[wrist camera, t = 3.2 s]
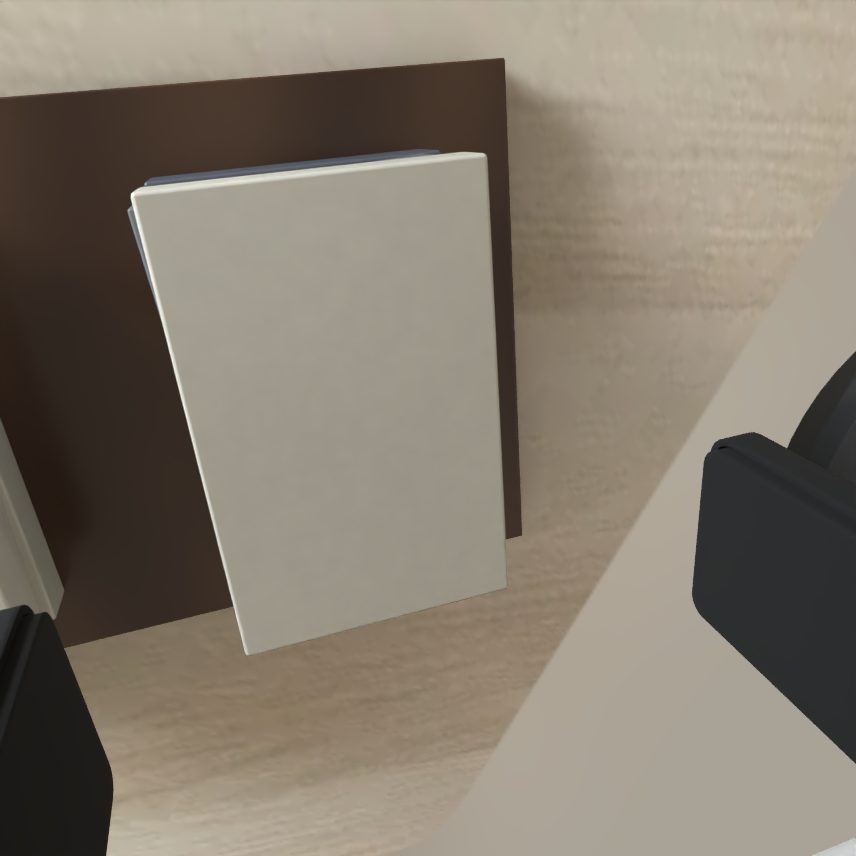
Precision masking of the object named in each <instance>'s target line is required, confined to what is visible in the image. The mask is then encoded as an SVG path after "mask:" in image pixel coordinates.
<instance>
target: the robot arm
mask: <svg viewBox="0 0 856 856" xmlns="http://www.w3.org/2000/svg"><path fill="white" fill-rule="evenodd" d="M692 597H693V602H694V604H695V607H696V609H697V610H698V612H699V614H700V615H701V616H702V617H703V618H704V619H705V620H706V621H707V622H708V623H709V624H710V625H711V626H712V627H713V628H714V629H715V630H716V631H718V632H719V633H720V634H721V635H722V636H723V637H724V638H725V639H726V640H727V641H728V642H729V643H730V644H731V645H732V646H733V647H735V649H736V650H737V651H738V652H739V653H741V654H742V655H743V656H744V657H745V658H746V659H747V660H748V661H749V662H750V663H751V664H752V665H753V666H754V667H755V668H756V669H757V670H758V671H759V672H760V673H761V674H763V675H764V676H765V677H766V678H767V679H768V680H769V681H770V682H771V683H772V684H773V685H774V686H775V687H776V688H777V689H778V690H779V691H780V692H781V693H783V695H784V696H786V697H787V698H788V699H789V700H790V701H791V702H792V703H793V704H794V705H795V706H796V707H797V708H798V709H799V710H800V711H801V712H802V713H803V714H804V715H805V716H806V717H807V718H809V719H810V720H811V721H812V722H813V723H814V724H815V725H816V726H817V727H818V728H819V729H820V730H821V731H822V732H823V733H824V734H825V735H826V736H828V738H829V739H831V740H832V741H833V742H834V743H835V744H836V745H837V746H838V747H839V748H840V749H841V750H842V751H843V752H844V753H845V754H846V755H847V756H848V757H849V758H850V759H852V761H854V762H855V763H856V485H854V484H852V483H850V482H849V481H847V480H845V479H843V478H841V477H839V476H837V475H835V474H834V473H832V472H830V471H828V470H826V469H824V468H822V467H821V466H819V465H817V464H815V463H813V462H811V461H809V460H807V459H806V458H804V457H802V456H800V455H798V454H796V453H794V452H792V451H791V450H789V449H787V448H785V447H783V446H781V445H779V444H778V443H776V442H774V441H772V440H770V439H768V438H766V437H764V436H763V435H761V434H758V433H755V432H753V433H746V434H741V435H737V436H733V437H729V438H724V439H720V440H718V441H717V442H715V443H714V445H713V447H712V449H711V452H709V453H708V454H707V455H706V457H705V460H704V467H703V478H702V489H701V500H700V511H699V522H698V534H697V545H696V555H695V566H694V577H693V588H692ZM112 802H113V777H112V772H111V767H110V764H109V761H108V759H107V756H106V754H105V751H104V749H103V746H102V744H101V741H100V738H99V736H98V733H97V731H96V728H95V726H94V723H93V721H92V718H91V716H90V713H89V710H88V708H87V705H86V703H85V700H84V698H83V695H82V693H81V690H80V688H79V685H78V683H77V680H76V677H75V675H74V672H73V670H72V667H71V665H70V662H69V660H68V657H67V655H66V652H65V649H64V647H63V644H62V642H61V639H60V637H59V634H58V632H57V629H56V627H55V624H54V621H53V619H52V617H51V616H50V615H49V613H47V612H42V613H38V614H34V612H33V610H32V609H31V608H30V607H29V606H27V605H25V604H24V605H20V606H16V607H12V608H8V609H3V610H0V856H106V851H107V843H108V835H109V827H110V818H111V810H112ZM812 856H856V837H855V838H853V839H850V840H848V841H846V842H843V843H841V844H838V845H836V846H834V847H831V848H829V849H826V850H824V851H821V852H819V853H816V854H814V855H812Z"/></svg>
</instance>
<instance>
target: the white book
mask: <svg viewBox="0 0 856 856" xmlns="http://www.w3.org/2000/svg"><path fill="white" fill-rule="evenodd" d="M131 201H132V205H133V209H134V213H135V217H136V221H137V225H138V229H139V233H140V237H141V241H142V245H143V249H144V253H145V257H146V261H147V265H148V269H149V273H150V277H151V281H152V284H153V288H154V292H155V296H156V300H157V304H158V308H159V312H160V316H161V320H162V324H163V328H164V332H165V336H166V340H167V344H168V348H169V352H170V356H171V360H172V364H173V368H174V372H175V376H176V380H177V384H178V388H179V392H180V396H181V400H182V403H183V407H184V411H185V415H186V419H187V423H188V427H189V431H190V435H191V439H192V443H193V447H194V451H195V455H196V459H197V463H198V467H199V471H200V475H201V479H202V483H203V487H204V491H205V495H206V499H207V503H208V507H209V511H210V515H211V518H212V522H213V526H214V530H215V534H216V538H217V542H218V546H219V550H220V554H221V558H222V562H223V566H224V570H225V574H226V578H227V582H228V586H229V590H230V594H231V598H232V602H233V606H234V610H235V614H236V618H237V622H238V626H239V630H240V634H241V637H242V641H243V645H244V649H245V653H246V654H247V656H251V655H255V654H259V653H263V652H267V651H270V650H274V649H278V648H282V647H286V646H289V645H293V644H297V643H301V642H305V641H308V640H312V639H316V638H320V637H324V636H327V635H331V634H335V633H339V632H343V631H346V630H350V629H354V628H358V627H362V626H365V625H369V624H373V623H377V622H381V621H384V620H388V619H392V618H396V617H400V616H403V615H407V614H411V613H415V612H419V611H422V610H426V609H430V608H434V607H438V606H441V605H445V604H449V603H453V602H457V601H460V600H464V599H468V598H472V597H476V596H479V595H483V594H487V593H491V592H495V591H498V590H502V589H506V588H507V587H508V576H507V555H506V535H505V514H504V493H503V472H502V452H501V431H500V410H499V390H498V369H497V348H496V327H495V307H494V286H493V265H492V245H491V224H490V203H489V182H488V162H487V156H486V154H484V153H474V152H457V153H448V154H439V155H430V156H420V157H411V158H402V159H393V160H384V161H375V162H366V163H357V164H348V165H338V166H329V167H320V168H311V169H302V170H293V171H284V172H275V173H265V174H256V175H247V176H238V177H229V178H220V179H211V180H202V181H193V182H183V183H174V184H165V185H156V186H147V187H140V188H138V189H137V190H135V191H134V192H133V193H131Z"/></svg>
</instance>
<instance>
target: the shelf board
mask: <svg viewBox="0 0 856 856" xmlns="http://www.w3.org/2000/svg"><path fill="white" fill-rule="evenodd" d="M413 149H429V150H439V151H440V152H441V154H448V153H457V152H474V153H484V154H486V156H487V162H488V182H489V203H490V224H491V245H492V265H493V286H494V307H495V327H496V348H497V369H498V390H499V410H500V431H501V452H502V472H503V493H504V514H505V535H506V539H509V538H513V537H517V536H521V535H522V522H521V495H520V467H519V440H518V413H517V386H516V358H515V331H514V304H513V277H512V249H511V222H510V195H509V167H508V140H507V113H506V86H505V60H504V58H496V59H483V60H471V61H458V62H445V63H433V64H420V65H407V66H394V67H382V68H369V69H356V70H344V71H331V72H318V73H305V74H293V75H280V76H267V77H255V78H242V79H229V80H216V81H204V82H191V83H178V84H166V85H153V86H140V87H127V88H115V89H102V90H89V91H77V92H64V93H51V94H38V95H26V96H13V97H0V419H1V422H2V424H3V427H4V430H5V432H6V435H7V438H8V440H9V443H10V446H11V448H12V451H13V454H14V456H15V459H16V462H17V465H18V467H19V470H20V473H21V475H22V478H23V481H24V483H25V486H26V489H27V491H28V494H29V497H30V499H31V502H32V505H33V507H34V510H35V513H36V515H37V518H38V521H39V524H40V526H41V529H42V532H43V534H44V537H45V540H46V542H47V545H48V548H49V550H50V553H51V556H52V558H53V561H54V564H55V566H56V569H57V572H58V574H59V577H60V580H61V582H62V585H63V588H64V594H63V597H62V600H61V603H60V606H59V610H58V613H57V616H56V618H55V619H54V620H53V621H54V624H55V627H56V629H57V632H58V634H59V637H60V639H61V642H62V644H63V647H64V648H66V647H70V646H75V645H79V644H83V643H87V642H91V641H95V640H99V639H103V638H107V637H111V636H115V635H119V634H123V633H127V632H131V631H135V630H140V629H144V628H148V627H152V626H156V625H160V624H164V623H168V622H172V621H176V620H180V619H184V618H188V617H192V616H196V615H200V614H205V613H209V612H213V611H217V610H221V609H225V608H229V607H233V602H232V598H231V594H230V590H229V586H228V582H227V578H226V574H225V570H224V566H223V562H222V558H221V554H220V550H219V546H218V542H217V538H216V534H215V530H214V526H213V522H212V518H211V515H210V511H209V507H208V503H207V499H206V495H205V491H204V487H203V483H202V479H201V475H200V471H199V467H198V463H197V459H196V455H195V451H194V447H193V443H192V439H191V435H190V431H189V427H188V423H187V419H186V415H185V411H184V407H183V403H182V400H181V396H180V392H179V388H178V384H177V380H176V376H175V372H174V368H173V364H172V360H171V356H170V352H169V348H168V344H167V340H166V336H165V332H164V328H163V325H162V321H161V318H160V315H159V312H158V309H157V305H156V302H155V299H154V296H153V293H152V289H151V286H150V283H149V280H148V277H147V273H146V270H145V267H144V264H143V260H142V257H141V254H140V251H139V248H138V244H137V241H136V238H135V235H134V232H133V228H132V225H131V222H130V219H129V215H128V209H129V208H130V207H131V206H132V201H131V193H133V192H134V191H135V190H137V189H138V188H140V187H144V184H145V182H146V181H148V180H149V179H150V178H152V177H161V176H171V175H180V174H189V173H199V172H208V171H217V170H227V169H236V168H245V167H255V166H264V165H273V164H283V163H292V162H301V161H311V160H320V159H329V158H339V157H348V156H357V155H367V154H376V153H385V152H395V151H404V150H413Z"/></svg>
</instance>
